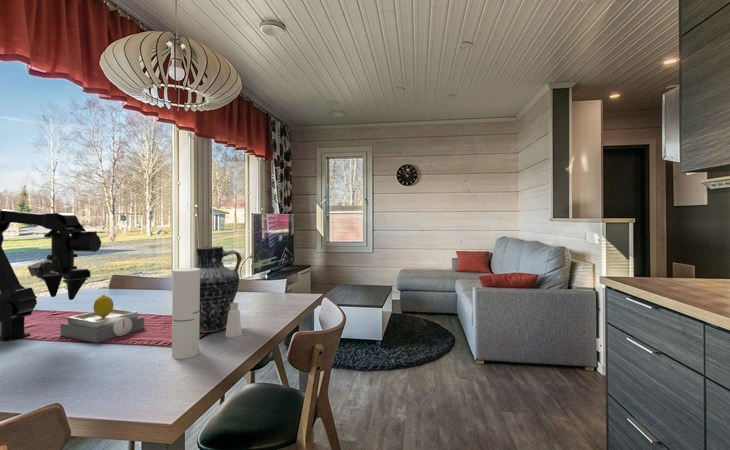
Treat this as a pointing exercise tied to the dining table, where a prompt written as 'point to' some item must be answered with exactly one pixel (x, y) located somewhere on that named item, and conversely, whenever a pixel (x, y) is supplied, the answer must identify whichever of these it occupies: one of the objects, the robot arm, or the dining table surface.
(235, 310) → the pepper shaker
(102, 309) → the lemon
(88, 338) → the scale
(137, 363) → the dining table surface
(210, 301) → the jug
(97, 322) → the pan
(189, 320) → the cylindrical container
